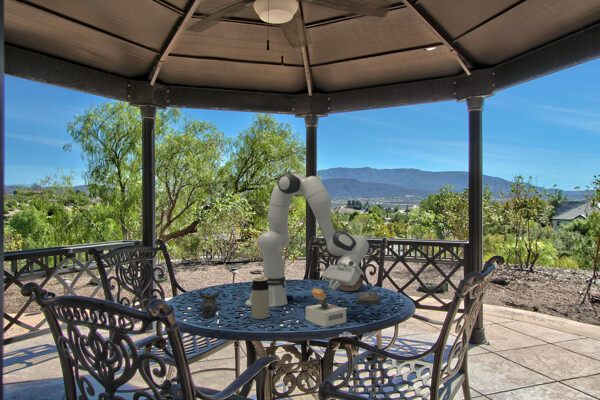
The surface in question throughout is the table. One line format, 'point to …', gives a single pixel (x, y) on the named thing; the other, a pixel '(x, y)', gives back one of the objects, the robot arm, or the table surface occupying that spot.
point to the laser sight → (208, 304)
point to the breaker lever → (320, 296)
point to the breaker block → (326, 315)
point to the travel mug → (260, 298)
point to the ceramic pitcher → (350, 288)
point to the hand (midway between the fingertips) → (330, 289)
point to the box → (368, 298)
